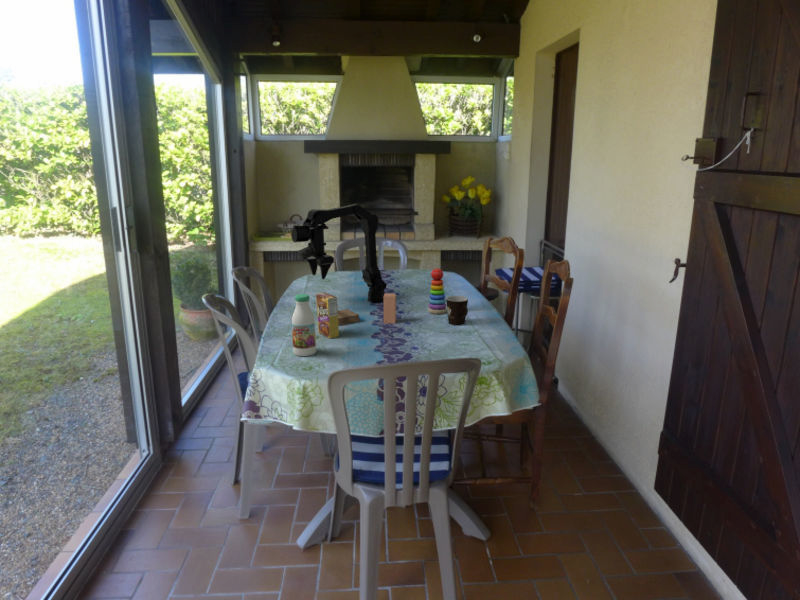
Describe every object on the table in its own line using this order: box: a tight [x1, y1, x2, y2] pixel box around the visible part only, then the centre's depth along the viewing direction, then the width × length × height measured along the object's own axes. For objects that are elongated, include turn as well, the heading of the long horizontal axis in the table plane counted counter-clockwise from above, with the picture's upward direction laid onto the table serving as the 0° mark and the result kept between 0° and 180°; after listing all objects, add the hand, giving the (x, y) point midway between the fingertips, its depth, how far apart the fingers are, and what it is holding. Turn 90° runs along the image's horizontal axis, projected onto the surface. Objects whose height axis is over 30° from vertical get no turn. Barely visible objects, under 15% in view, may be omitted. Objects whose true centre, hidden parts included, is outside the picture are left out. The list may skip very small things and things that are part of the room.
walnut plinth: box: [338, 308, 360, 327], centre depth 222 cm, size 10×10×3 cm
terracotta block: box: [383, 293, 397, 324], centre depth 220 cm, size 4×4×11 cm
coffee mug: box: [445, 295, 469, 326], centre depth 217 cm, size 12×9×10 cm
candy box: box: [315, 292, 340, 339], centre depth 204 cm, size 9×4×15 cm, turn 37°
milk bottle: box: [291, 293, 317, 357], centre depth 185 cm, size 8×8×20 cm
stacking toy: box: [427, 268, 447, 315], centre depth 232 cm, size 8×8×19 cm
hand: (318, 277), depth 234 cm, fingers open, 9 cm apart
